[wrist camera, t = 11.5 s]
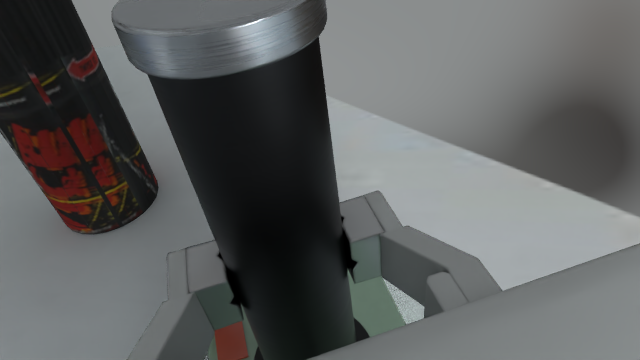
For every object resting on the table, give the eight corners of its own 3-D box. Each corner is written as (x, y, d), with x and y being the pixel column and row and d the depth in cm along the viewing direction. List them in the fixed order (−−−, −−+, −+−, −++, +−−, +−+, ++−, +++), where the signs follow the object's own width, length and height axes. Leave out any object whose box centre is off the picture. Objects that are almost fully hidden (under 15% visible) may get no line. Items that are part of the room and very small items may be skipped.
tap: (271, 455, 14) (64, 72, 6) (233, 254, 21) (112, -64, 12) (396, 409, 15) (390, -3, 6) (320, 228, 22) (265, -93, 13)
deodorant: (45, 216, 28) (-143, -37, 18) (118, 161, 32) (-6, -74, 22) (104, 246, 25) (-80, -31, 16) (177, 183, 29) (65, -74, 19)
